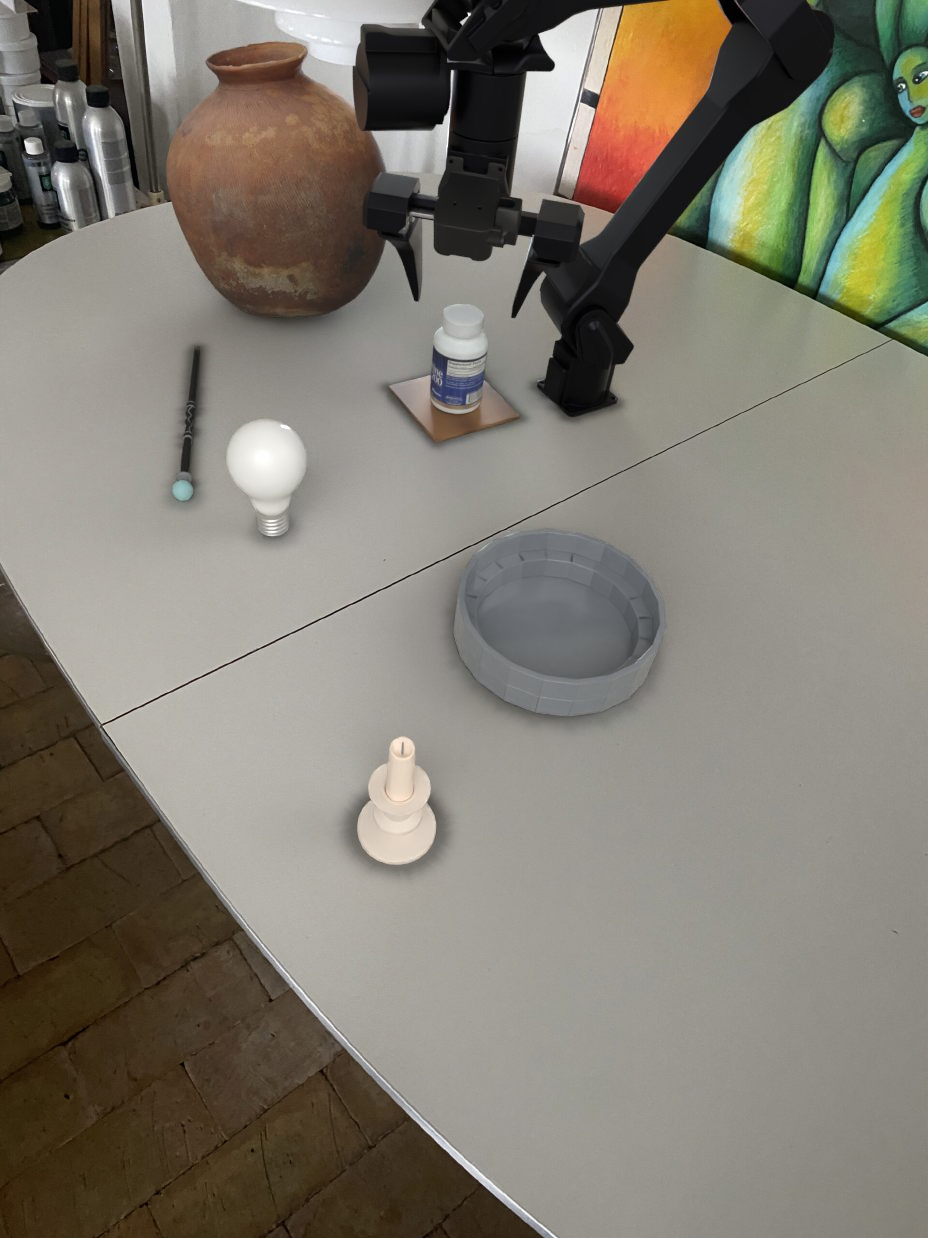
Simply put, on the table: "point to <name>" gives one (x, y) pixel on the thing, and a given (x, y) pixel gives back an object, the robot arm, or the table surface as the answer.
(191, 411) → the magic wand
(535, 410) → the table surface
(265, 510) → the lightbulb
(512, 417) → the coaster
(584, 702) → the basin
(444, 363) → the pill bottle
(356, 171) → the pottery
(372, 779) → the candle
